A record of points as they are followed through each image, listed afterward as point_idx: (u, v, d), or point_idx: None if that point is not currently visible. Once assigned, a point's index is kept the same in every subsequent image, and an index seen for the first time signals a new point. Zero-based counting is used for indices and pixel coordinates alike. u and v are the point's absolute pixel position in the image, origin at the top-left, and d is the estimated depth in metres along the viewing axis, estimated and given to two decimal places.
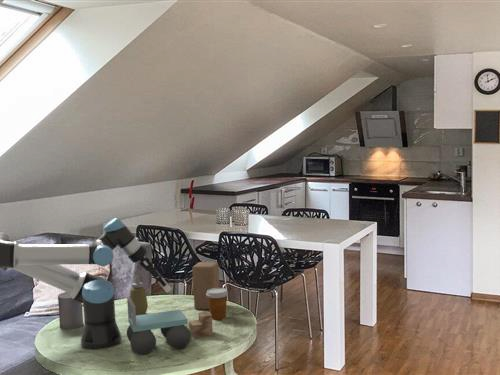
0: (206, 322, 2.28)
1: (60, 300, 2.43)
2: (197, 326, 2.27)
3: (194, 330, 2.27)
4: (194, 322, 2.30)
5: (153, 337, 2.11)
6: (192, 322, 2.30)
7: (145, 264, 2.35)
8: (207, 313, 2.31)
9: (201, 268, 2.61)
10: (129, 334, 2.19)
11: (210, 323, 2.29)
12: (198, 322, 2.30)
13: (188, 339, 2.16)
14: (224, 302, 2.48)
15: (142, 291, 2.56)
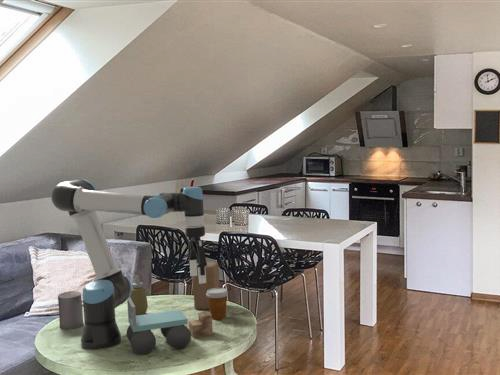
0: (206, 322, 2.28)
1: (60, 300, 2.43)
2: (197, 326, 2.27)
3: (194, 330, 2.27)
4: (194, 322, 2.30)
5: (153, 337, 2.11)
6: (192, 322, 2.30)
7: (199, 244, 2.21)
8: (207, 313, 2.31)
9: None
10: (129, 334, 2.19)
11: (210, 323, 2.29)
12: (198, 322, 2.30)
13: (188, 339, 2.16)
14: (224, 302, 2.48)
15: (142, 291, 2.56)
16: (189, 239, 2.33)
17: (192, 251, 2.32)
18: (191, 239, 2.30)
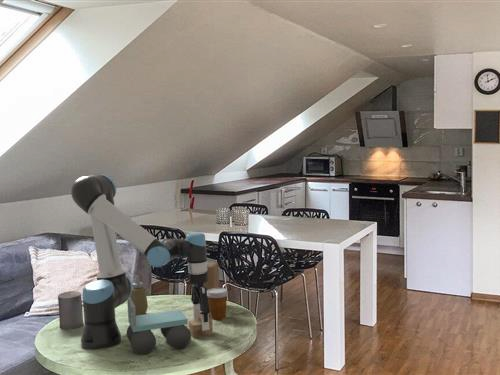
0: None
1: (60, 300, 2.43)
2: (197, 326, 2.27)
3: (194, 330, 2.27)
4: (194, 322, 2.30)
5: (153, 337, 2.11)
6: (192, 322, 2.30)
7: (202, 291, 2.22)
8: None
9: None
10: (129, 334, 2.19)
11: (210, 323, 2.29)
12: (198, 322, 2.30)
13: (188, 339, 2.16)
14: (224, 302, 2.48)
15: (142, 291, 2.56)
16: (192, 284, 2.34)
17: (195, 296, 2.33)
18: (194, 284, 2.31)
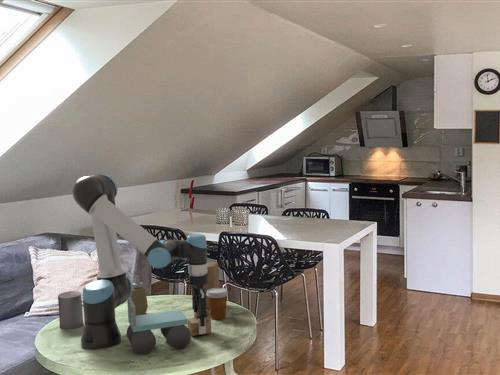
0: (205, 320, 2.28)
1: (60, 300, 2.43)
2: (196, 324, 2.27)
3: (193, 328, 2.27)
4: (193, 320, 2.30)
5: (153, 337, 2.11)
6: (191, 320, 2.30)
7: (201, 296, 2.23)
8: None
9: None
10: (129, 334, 2.19)
11: (209, 321, 2.28)
12: (197, 320, 2.30)
13: (188, 339, 2.16)
14: (224, 302, 2.48)
15: (142, 291, 2.56)
16: (192, 288, 2.34)
17: (196, 300, 2.32)
18: (194, 285, 2.31)
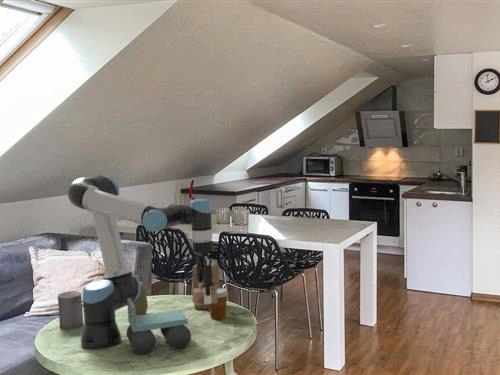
0: None
1: (60, 300, 2.43)
2: (201, 293, 2.14)
3: (198, 297, 2.14)
4: (198, 289, 2.17)
5: (153, 337, 2.11)
6: (196, 289, 2.18)
7: (206, 263, 2.11)
8: None
9: None
10: (129, 334, 2.19)
11: (215, 290, 2.16)
12: (202, 289, 2.17)
13: (188, 339, 2.16)
14: (224, 302, 2.48)
15: (142, 291, 2.56)
16: (196, 256, 2.22)
17: (200, 269, 2.19)
18: (198, 253, 2.19)
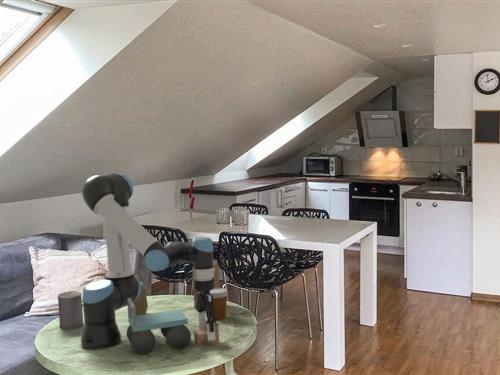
0: None
1: (60, 300, 2.43)
2: (203, 336, 2.16)
3: (200, 340, 2.16)
4: (199, 331, 2.19)
5: (153, 337, 2.11)
6: (197, 331, 2.19)
7: (208, 299, 2.11)
8: None
9: None
10: (129, 334, 2.19)
11: (216, 332, 2.18)
12: (204, 331, 2.19)
13: (188, 339, 2.16)
14: (224, 302, 2.48)
15: (142, 291, 2.56)
16: (198, 291, 2.23)
17: (201, 304, 2.22)
18: (200, 291, 2.20)
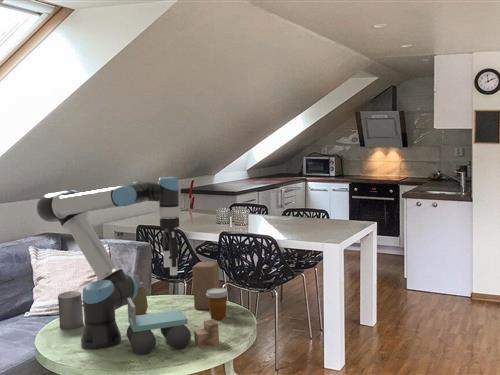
0: (212, 331, 2.17)
1: (60, 300, 2.43)
2: (203, 336, 2.16)
3: (200, 340, 2.16)
4: (199, 331, 2.19)
5: (153, 337, 2.11)
6: (197, 331, 2.19)
7: (172, 235, 2.18)
8: (213, 322, 2.20)
9: (201, 268, 2.61)
10: (129, 334, 2.19)
11: (216, 332, 2.18)
12: (204, 331, 2.19)
13: (188, 339, 2.16)
14: (224, 302, 2.48)
15: (142, 291, 2.56)
16: (164, 230, 2.30)
17: (166, 242, 2.29)
18: (165, 230, 2.27)
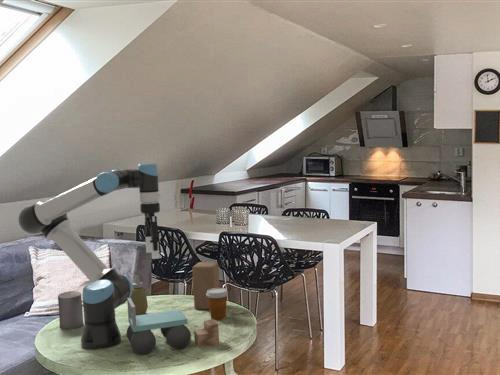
0: (212, 331, 2.17)
1: (60, 300, 2.43)
2: (203, 336, 2.16)
3: (200, 340, 2.16)
4: (199, 331, 2.19)
5: (153, 337, 2.11)
6: (197, 331, 2.19)
7: (152, 219, 2.23)
8: (213, 322, 2.20)
9: (201, 268, 2.61)
10: (129, 334, 2.19)
11: (216, 332, 2.18)
12: (204, 331, 2.19)
13: (188, 339, 2.16)
14: (224, 302, 2.48)
15: (142, 291, 2.56)
16: (145, 216, 2.35)
17: (148, 227, 2.34)
18: (146, 215, 2.32)
